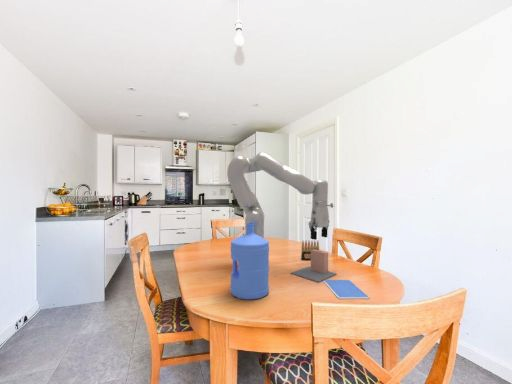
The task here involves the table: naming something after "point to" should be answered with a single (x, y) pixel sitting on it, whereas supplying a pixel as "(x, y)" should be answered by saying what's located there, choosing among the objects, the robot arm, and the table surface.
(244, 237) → the water jug
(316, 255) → the brown rectangular block
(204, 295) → the table surface
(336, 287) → the blue notebook
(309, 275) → the mat
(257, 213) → the robot arm
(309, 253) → the ammunition clip
